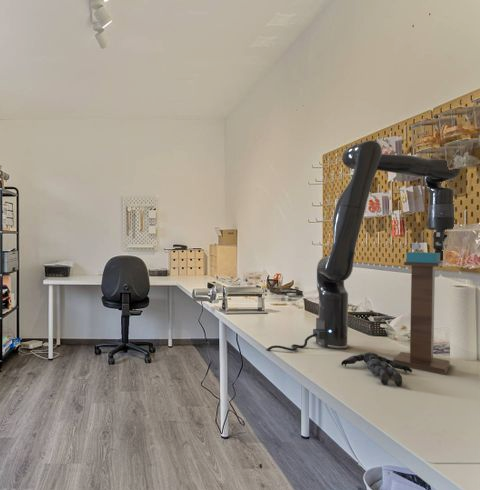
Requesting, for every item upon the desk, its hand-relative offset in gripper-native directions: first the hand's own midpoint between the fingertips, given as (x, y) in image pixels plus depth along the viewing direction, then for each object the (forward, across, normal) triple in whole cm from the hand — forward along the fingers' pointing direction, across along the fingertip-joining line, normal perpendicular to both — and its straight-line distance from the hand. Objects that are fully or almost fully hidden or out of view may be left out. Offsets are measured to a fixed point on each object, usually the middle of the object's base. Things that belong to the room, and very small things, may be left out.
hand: (440, 260), depth 133 cm
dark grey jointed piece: (+32, +51, -8) cm, 61 cm away
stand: (+32, +32, -1) cm, 45 cm away
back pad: (0, +26, -1) cm, 27 cm away
